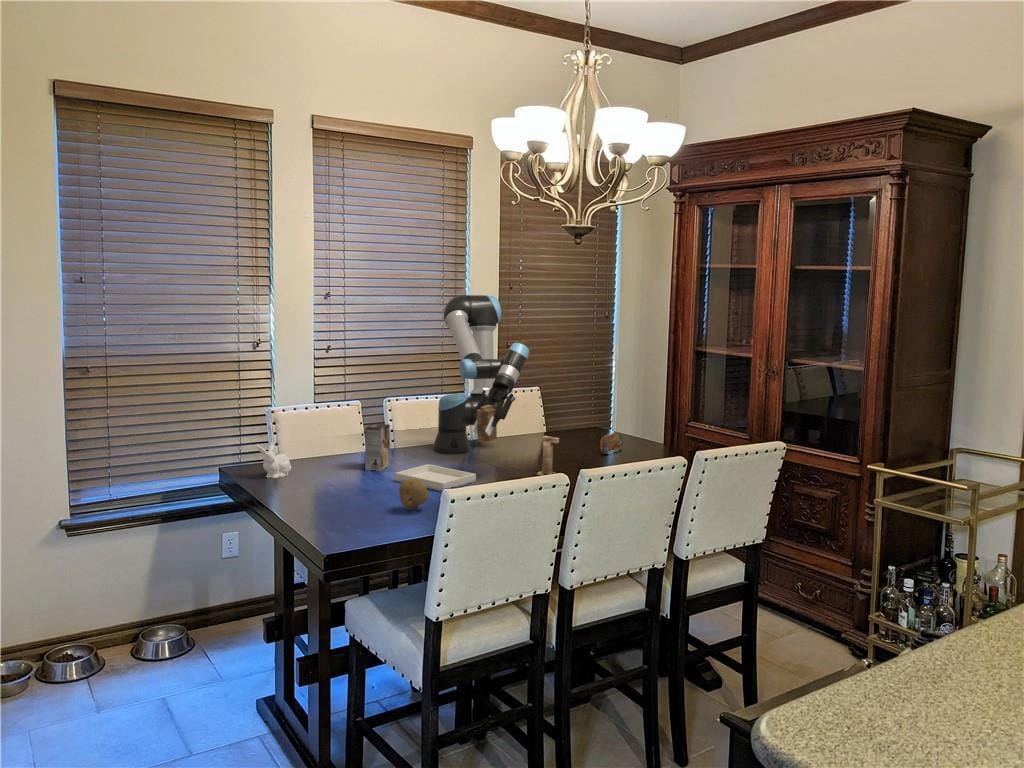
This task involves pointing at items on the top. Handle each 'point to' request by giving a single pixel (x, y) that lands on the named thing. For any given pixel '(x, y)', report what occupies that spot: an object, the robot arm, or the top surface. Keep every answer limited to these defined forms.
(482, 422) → the brown upright block
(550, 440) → the oak post
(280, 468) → the rabbit
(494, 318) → the robot arm
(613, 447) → the tin
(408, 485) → the natural sponge
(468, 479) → the tray
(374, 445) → the coffee box
